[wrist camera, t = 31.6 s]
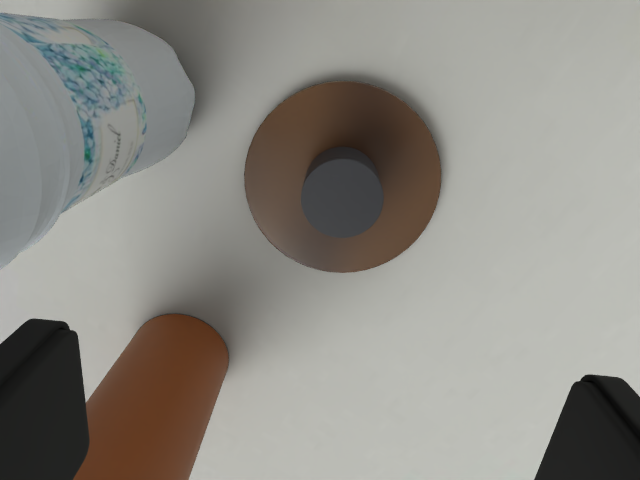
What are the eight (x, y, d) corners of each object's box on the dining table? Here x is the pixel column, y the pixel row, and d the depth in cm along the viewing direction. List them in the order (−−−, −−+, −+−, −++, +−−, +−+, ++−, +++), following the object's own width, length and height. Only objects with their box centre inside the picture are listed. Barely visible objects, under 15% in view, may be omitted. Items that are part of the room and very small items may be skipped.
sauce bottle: (136, 388, 30) (-109, 796, 13) (129, 308, 27) (-178, 685, 11) (228, 397, 29) (94, 816, 13) (229, 318, 27) (68, 709, 11)
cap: (386, 154, 22) (393, 168, 20) (369, 224, 24) (372, 245, 21) (312, 139, 22) (308, 150, 20) (299, 210, 24) (294, 229, 21)
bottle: (156, 187, 24) (-434, 625, 6) (47, 96, 23) (-1256, 297, 4) (236, 91, 22) (-281, 292, 4) (122, -17, 21) (-1789, -604, 2)
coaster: (242, 257, 26) (240, 262, 25) (251, 69, 22) (248, 69, 21) (418, 277, 26) (420, 282, 25) (458, 93, 22) (461, 94, 21)
